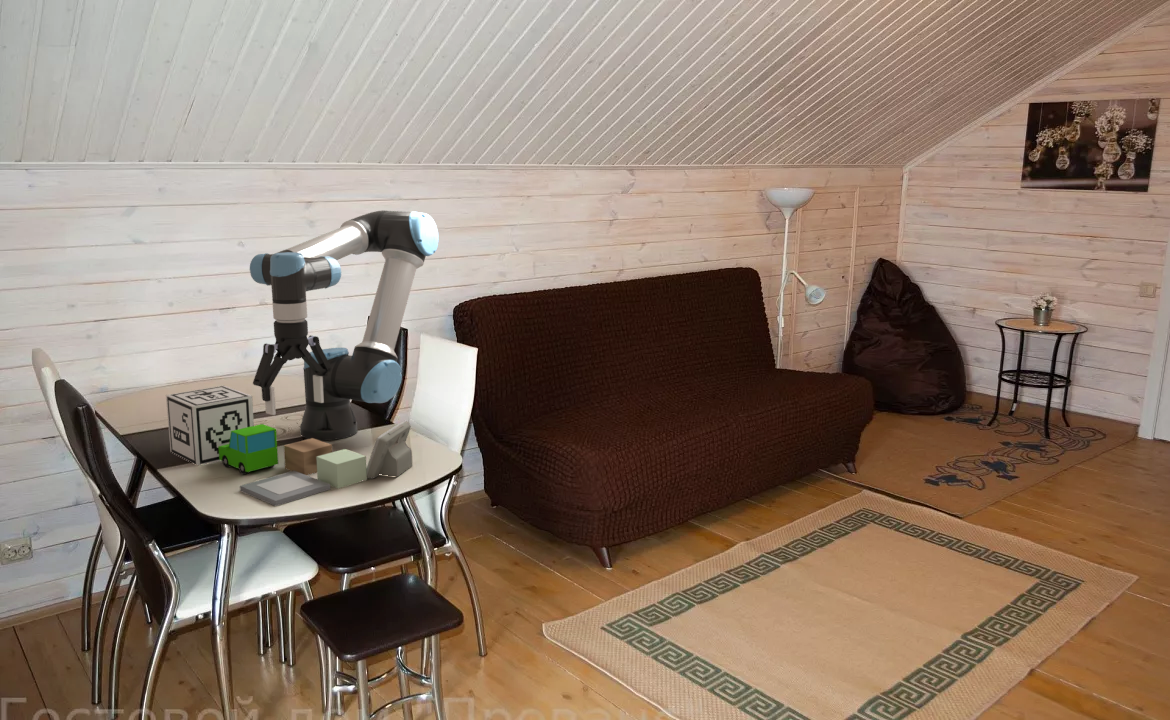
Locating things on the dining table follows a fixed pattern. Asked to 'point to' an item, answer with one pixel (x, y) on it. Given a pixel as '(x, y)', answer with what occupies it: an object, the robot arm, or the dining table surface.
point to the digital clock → (391, 452)
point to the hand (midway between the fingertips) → (295, 407)
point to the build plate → (284, 487)
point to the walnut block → (305, 455)
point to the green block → (341, 468)
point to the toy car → (250, 448)
